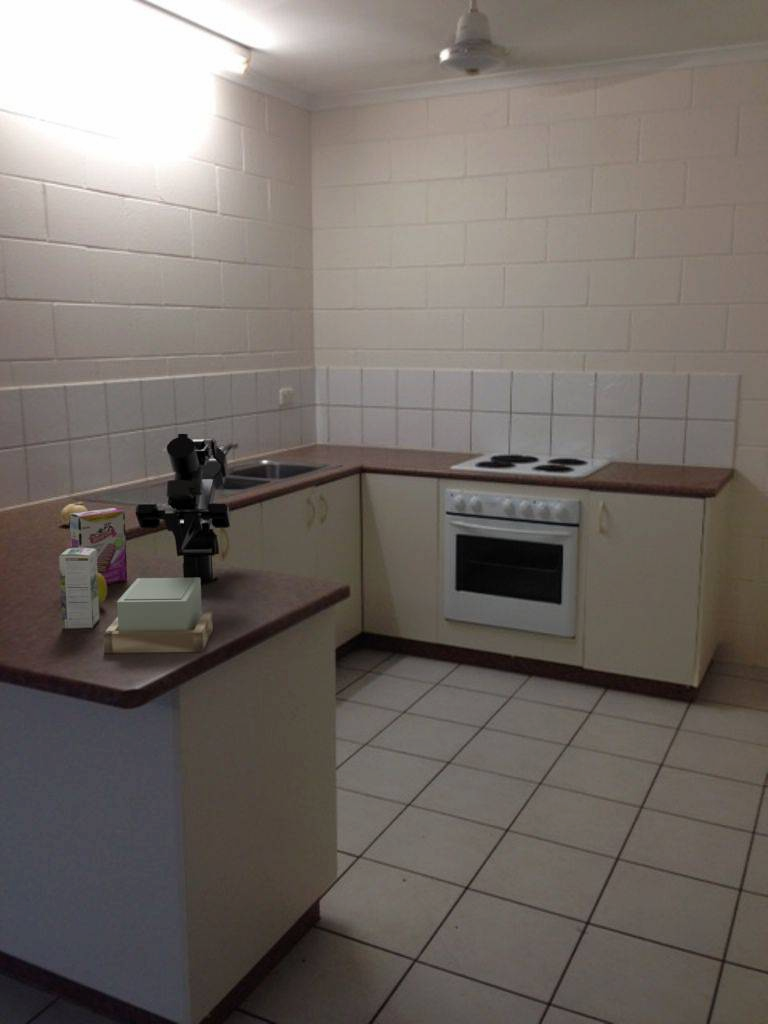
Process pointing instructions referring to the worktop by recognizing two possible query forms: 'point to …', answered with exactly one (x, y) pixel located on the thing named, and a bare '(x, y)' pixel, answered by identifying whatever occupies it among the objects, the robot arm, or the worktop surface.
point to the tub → (160, 605)
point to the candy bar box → (102, 540)
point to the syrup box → (79, 588)
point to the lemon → (102, 588)
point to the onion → (71, 511)
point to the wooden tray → (158, 638)
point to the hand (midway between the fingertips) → (179, 549)
